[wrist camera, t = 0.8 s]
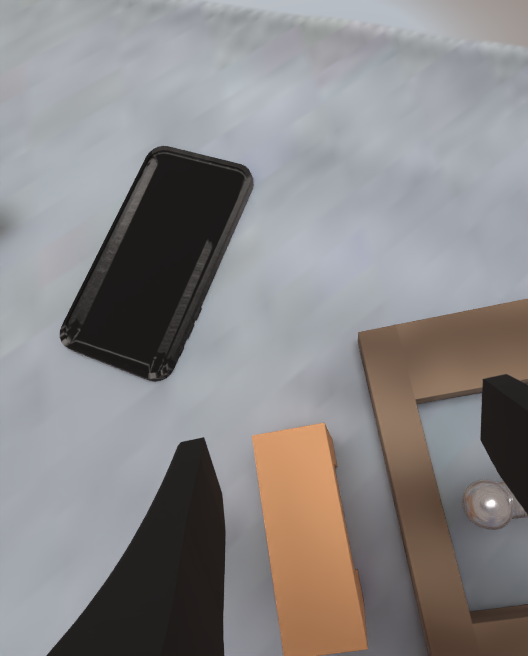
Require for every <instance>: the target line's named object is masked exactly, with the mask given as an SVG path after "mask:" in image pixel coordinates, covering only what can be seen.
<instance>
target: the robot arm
mask: <svg viewBox="0 0 528 656" xmlns="http://www.w3.org/2000/svg"><path fill="white" fill-rule="evenodd" d="M481 442H482V444H483V445H484V447H485V449H486V451H487V453H488V455H489V457H490V459H491V461H492V463H493V464H494V466H495V468H496V470H497V472H498V473H499V475H500V476H501V478H502V479H503V481H504V482H505V484H506V485H507V487H508V488H509V489H510V491H511V492H512V494H513V495H514V496H515V498H516V499H517V501H518V502H519V503H520V505H521V506H522V508H523V509H524V510H525V512H526V513H527V514H528V385H527V384H525V383H523V382H521V381H519V380H518V379H516V378H514V377H512V376H510V375H508V374H504V375H499V376H494V377H489V378H485V379H483V385H482V413H481ZM224 574H225V519H224V508H223V497H222V492H221V489H220V485H219V482H218V479H217V476H216V473H215V470H214V467H213V464H212V461H211V457H210V454H209V451H208V448H207V445H206V442H205V439H204V437H203V438H199V439H194V440H189V441H184V442H181V443H180V444H179V445H178V447H177V449H176V452H175V454H174V457H173V459H172V461H171V464H170V466H169V468H168V471H167V473H166V475H165V477H164V480H163V482H162V484H161V486H160V488H159V490H158V492H157V494H156V496H155V498H154V500H153V502H152V504H151V506H150V508H149V510H148V512H147V514H146V516H145V518H144V520H143V521H142V523H141V525H140V527H139V529H138V530H137V532H136V534H135V536H134V537H133V539H132V541H131V543H130V544H129V546H128V548H127V549H126V551H125V553H124V554H123V556H122V557H121V559H120V560H119V562H118V564H117V565H116V567H115V568H114V570H113V571H112V573H111V574H110V576H109V577H108V579H107V580H106V581H105V583H104V584H103V586H102V587H101V588H100V590H99V591H98V592H97V594H96V595H95V597H94V598H93V599H92V601H91V602H90V603H89V605H88V606H87V607H86V609H85V610H84V611H83V613H82V614H81V615H80V616H79V618H78V619H77V620H76V621H75V623H74V624H73V625H72V626H71V628H70V629H69V630H68V631H67V632H66V633H65V635H64V636H63V637H62V638H61V639H60V640H59V642H58V643H57V644H56V645H55V646H54V647H53V649H52V650H51V651H50V652H49V653H48V654H47V656H224V642H223V609H224Z"/></svg>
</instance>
